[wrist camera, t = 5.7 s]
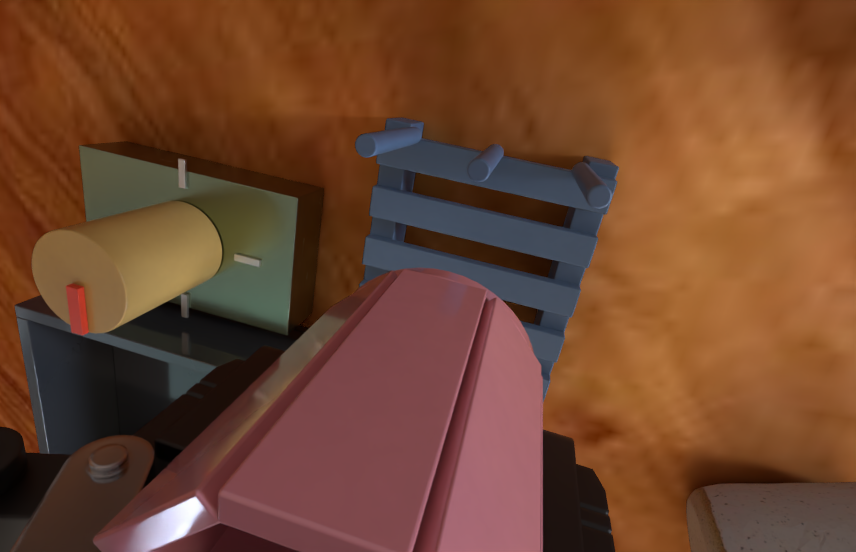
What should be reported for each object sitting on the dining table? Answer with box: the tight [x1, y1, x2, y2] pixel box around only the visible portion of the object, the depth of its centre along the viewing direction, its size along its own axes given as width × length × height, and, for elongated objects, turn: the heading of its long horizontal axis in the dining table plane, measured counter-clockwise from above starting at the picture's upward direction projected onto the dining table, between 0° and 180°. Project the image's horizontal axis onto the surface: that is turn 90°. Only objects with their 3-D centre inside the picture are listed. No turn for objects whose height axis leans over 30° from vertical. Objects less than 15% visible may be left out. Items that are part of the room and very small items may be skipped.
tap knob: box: [32, 201, 222, 335], centre depth 21 cm, size 4×4×6 cm
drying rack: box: [355, 118, 619, 402], centre depth 20 cm, size 12×10×9 cm
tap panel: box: [79, 141, 324, 335], centre depth 25 cm, size 9×12×3 cm
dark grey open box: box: [15, 295, 308, 455], centre depth 28 cm, size 13×16×6 cm
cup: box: [92, 268, 543, 552], centre depth 10 cm, size 6×6×8 cm
